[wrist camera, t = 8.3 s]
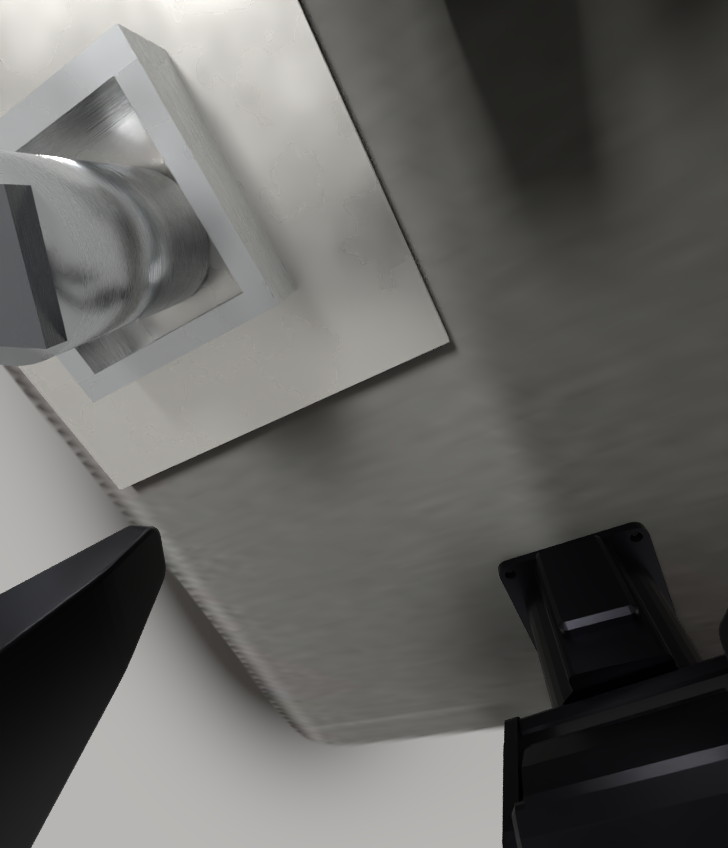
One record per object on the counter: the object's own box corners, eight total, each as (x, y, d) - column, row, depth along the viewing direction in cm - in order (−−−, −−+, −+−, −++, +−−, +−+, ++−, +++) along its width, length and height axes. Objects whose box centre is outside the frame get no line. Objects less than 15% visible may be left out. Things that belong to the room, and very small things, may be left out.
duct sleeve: (201, 168, 16) (28, 141, 9) (216, 310, 18) (83, 381, 11) (68, 165, 16) (-200, 137, 9) (96, 304, 18) (-106, 369, 11)
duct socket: (448, 336, 18) (455, 365, 15) (127, 482, 22) (85, 526, 20) (203, -215, 12) (140, -335, 9) (-163, 126, 17) (-282, 113, 14)
